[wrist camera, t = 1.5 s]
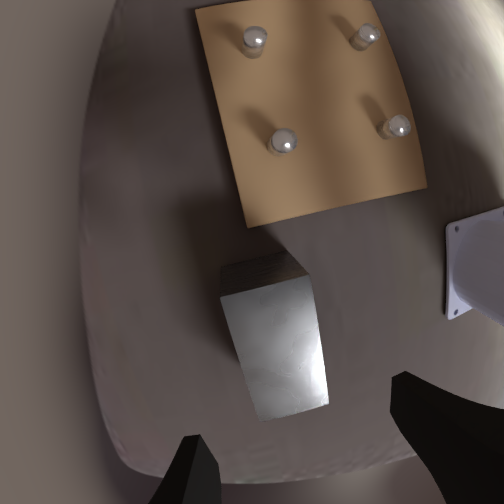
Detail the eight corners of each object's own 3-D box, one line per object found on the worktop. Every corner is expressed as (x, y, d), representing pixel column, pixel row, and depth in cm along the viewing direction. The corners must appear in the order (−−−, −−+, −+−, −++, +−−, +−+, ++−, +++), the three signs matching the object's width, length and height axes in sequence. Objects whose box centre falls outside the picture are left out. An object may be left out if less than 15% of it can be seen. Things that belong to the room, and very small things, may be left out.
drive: (286, 249, 17) (309, 274, 13) (307, 358, 19) (328, 403, 14) (221, 266, 17) (219, 297, 12) (252, 372, 19) (259, 422, 14)
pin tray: (364, 7, 14) (382, -12, 11) (418, 187, 17) (446, 189, 14) (196, 17, 13) (191, -8, 10) (246, 225, 17) (250, 234, 14)
